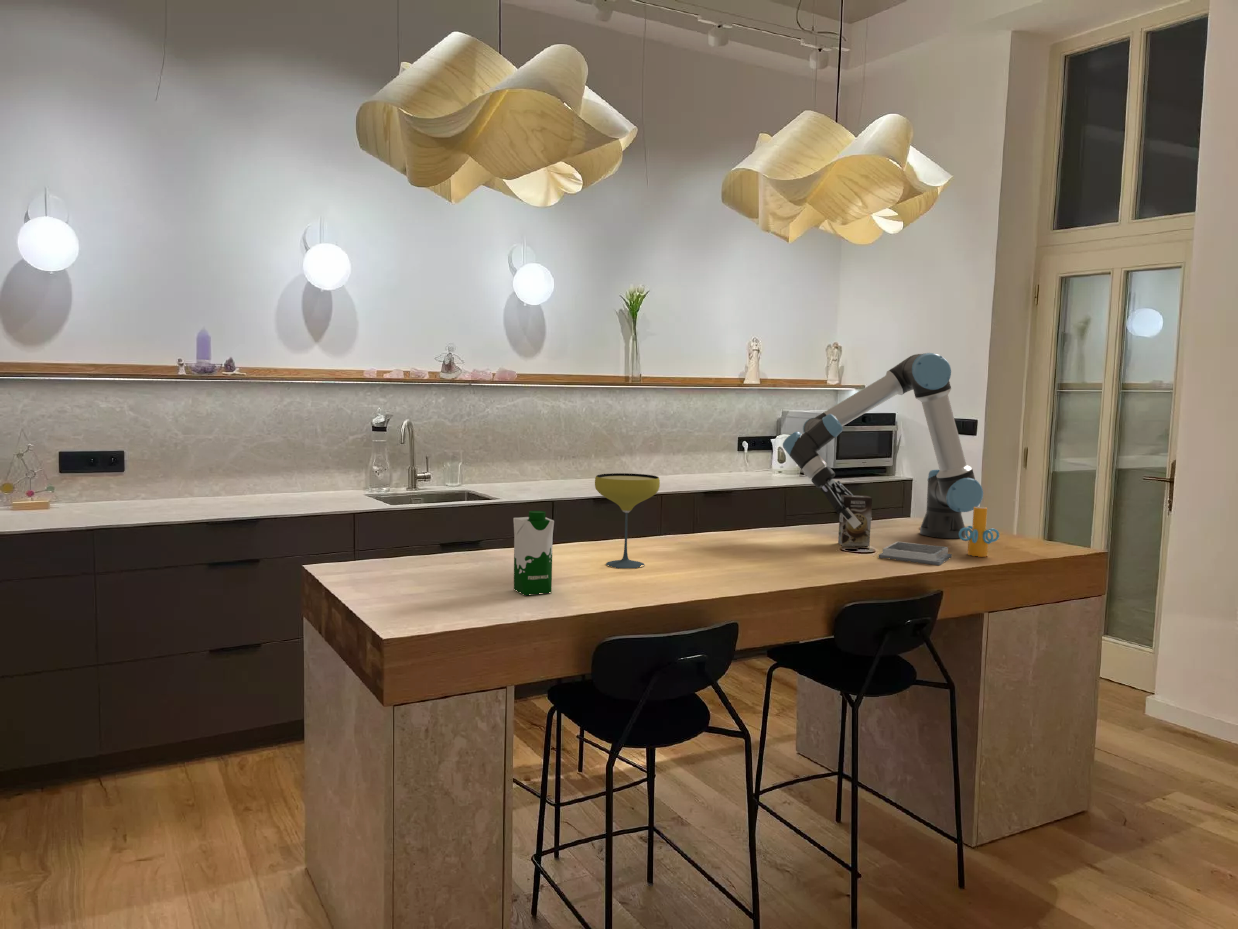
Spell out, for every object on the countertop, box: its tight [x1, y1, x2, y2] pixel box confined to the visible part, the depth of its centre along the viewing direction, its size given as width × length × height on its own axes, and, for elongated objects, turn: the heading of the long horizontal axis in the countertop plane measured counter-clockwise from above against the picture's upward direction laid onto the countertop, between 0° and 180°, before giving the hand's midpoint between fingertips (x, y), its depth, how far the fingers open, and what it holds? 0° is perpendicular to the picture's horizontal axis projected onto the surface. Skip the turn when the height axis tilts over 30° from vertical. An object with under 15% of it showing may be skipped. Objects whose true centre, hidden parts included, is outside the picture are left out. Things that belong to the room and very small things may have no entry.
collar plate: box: [877, 541, 952, 566], centre depth 284 cm, size 16×18×3 cm
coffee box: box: [837, 494, 873, 547], centre depth 303 cm, size 9×6×16 cm
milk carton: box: [512, 510, 555, 596], centre depth 227 cm, size 9×9×20 cm
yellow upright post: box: [959, 506, 1000, 558], centre depth 290 cm, size 12×10×15 cm
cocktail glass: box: [594, 472, 661, 569], centre depth 262 cm, size 18×18×25 cm
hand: (863, 523), depth 302 cm, fingers open, 11 cm apart
